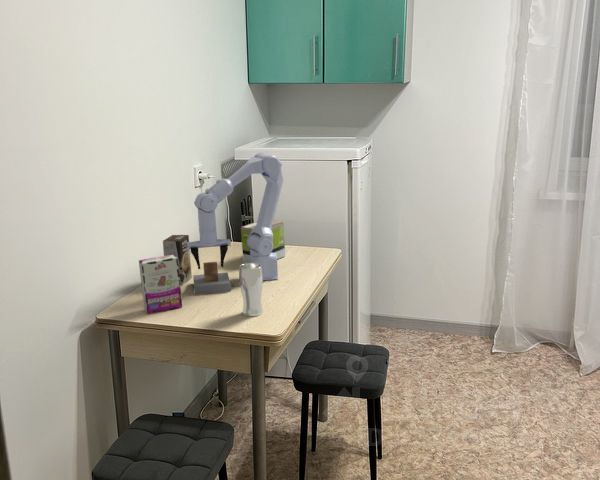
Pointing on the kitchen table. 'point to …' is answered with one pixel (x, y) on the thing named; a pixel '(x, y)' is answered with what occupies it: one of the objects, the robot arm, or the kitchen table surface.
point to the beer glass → (251, 288)
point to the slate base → (211, 284)
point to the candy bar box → (160, 283)
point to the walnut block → (210, 271)
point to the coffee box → (179, 255)
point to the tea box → (277, 240)
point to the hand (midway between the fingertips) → (210, 267)
